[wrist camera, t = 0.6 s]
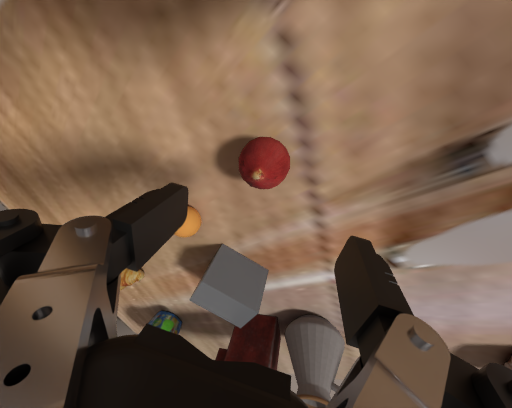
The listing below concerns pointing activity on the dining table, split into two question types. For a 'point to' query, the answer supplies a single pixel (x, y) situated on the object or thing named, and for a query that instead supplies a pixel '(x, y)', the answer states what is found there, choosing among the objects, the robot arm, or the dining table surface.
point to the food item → (509, 364)
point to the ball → (190, 224)
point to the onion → (264, 163)
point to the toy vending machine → (254, 342)
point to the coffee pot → (314, 358)
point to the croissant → (130, 277)
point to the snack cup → (166, 322)
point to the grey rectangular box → (231, 287)
